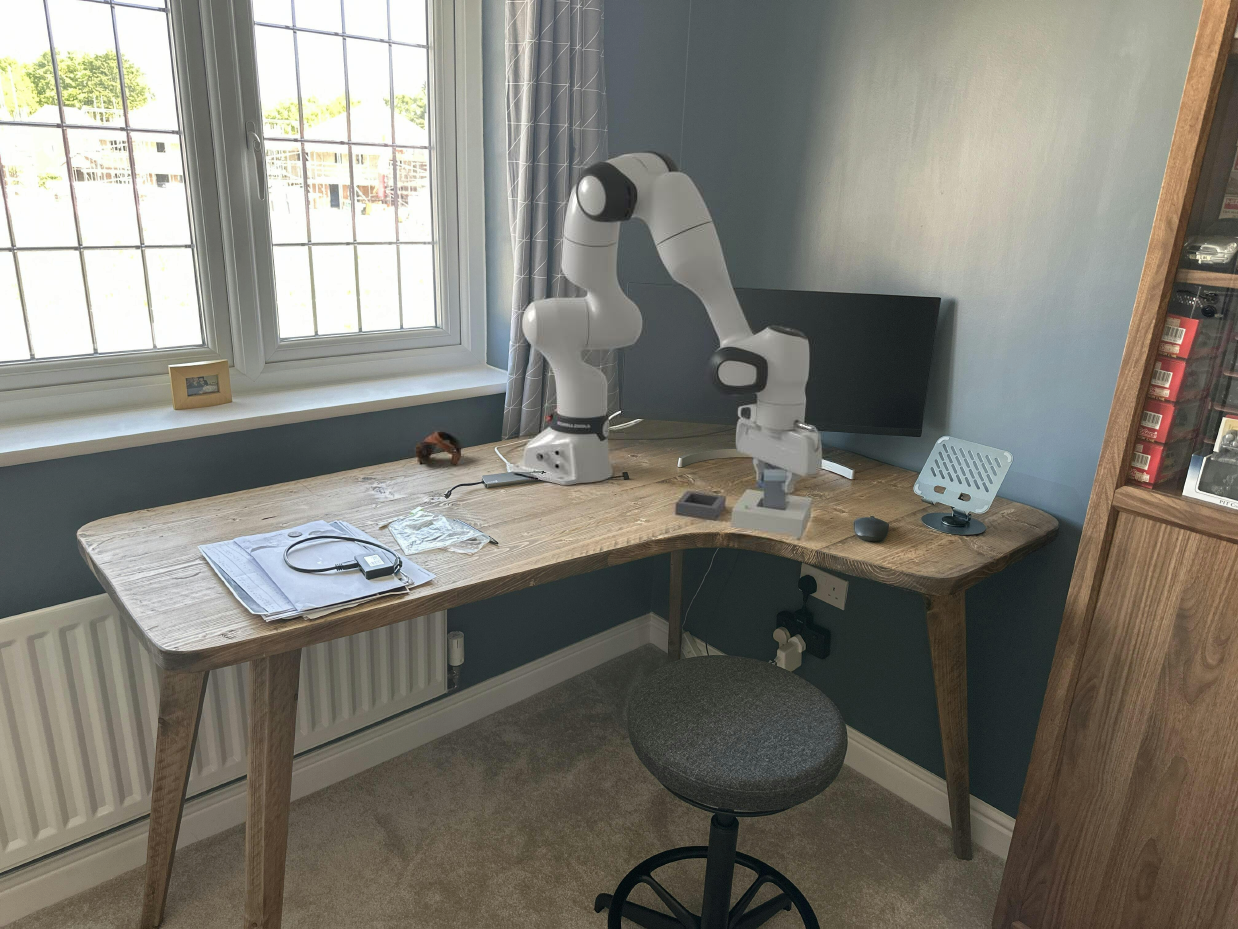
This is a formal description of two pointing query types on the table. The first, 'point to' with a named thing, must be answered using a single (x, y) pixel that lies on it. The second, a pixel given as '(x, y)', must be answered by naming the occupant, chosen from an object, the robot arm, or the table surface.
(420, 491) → the table surface
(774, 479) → the plug
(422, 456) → the orange curved piece
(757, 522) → the panel
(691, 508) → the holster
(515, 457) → the table surface
